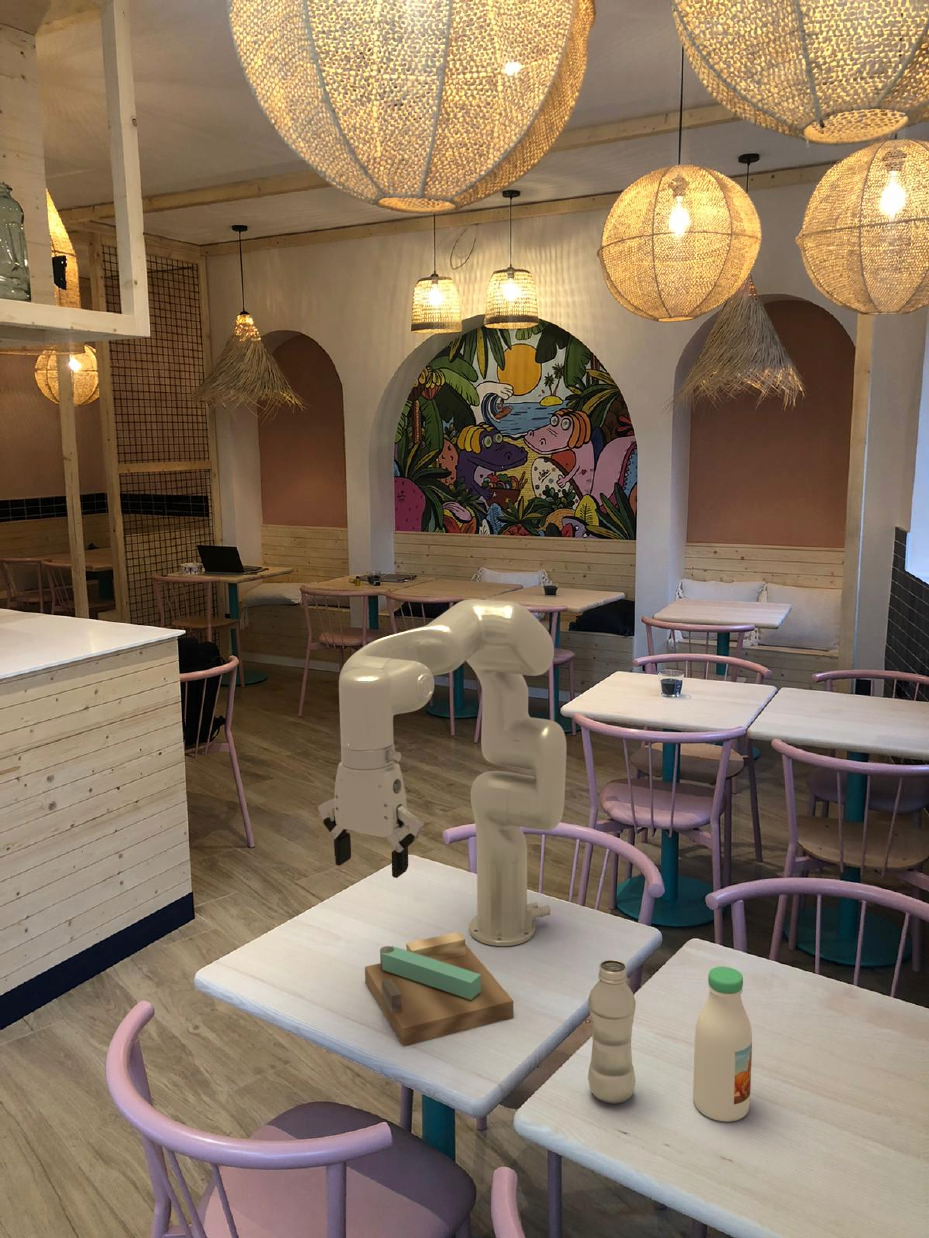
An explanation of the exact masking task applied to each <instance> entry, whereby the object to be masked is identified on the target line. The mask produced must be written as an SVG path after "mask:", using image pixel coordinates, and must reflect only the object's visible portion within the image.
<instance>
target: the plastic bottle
mask: <svg viewBox="0 0 929 1238" xmlns="http://www.w3.org/2000/svg"><path fill="white" fill-rule="evenodd" d="M597 978H598V979H599V980H598V981H597V983H596V984H595V985H594V986H593V987H592V988H591V990H590V993H589V996H588V1007H589V1009H588V1010H589V1015H590V1021H591V1034H592V1036H591V1037H592V1045H591V1046H592V1048H591V1058H590V1064H589V1068H588V1074H587V1080H588V1085H589V1090H590V1091H591V1093H592V1094H593V1095H594V1097H595V1098H596V1099H598V1100H599V1101H601V1102H604V1103H607V1104H614V1105H616V1104H621V1103H624V1102H627V1100H628V1099H630V1098H631V1097H632V1096H633V1094H634V1091H635V1087H636V1074H635V1068H634V1065H633V1054H632V1035H633V1023H634V1019H635V1012H636V1005H637V1004H636V1002H637V1001H636V999H635V995H634V993H633V991H632V990H631V988H630V986H629V985H628V984H627V981H628V976H627V965H626V963H624V962H622V961H620V960H617V959H606V960H603V961H601V962H600V964H599V972H598V976H597Z"/></svg>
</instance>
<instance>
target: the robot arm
mask: <svg viewBox="0 0 929 1238" xmlns="http://www.w3.org/2000/svg"><path fill="white" fill-rule="evenodd" d="M554 656H555V646H554V643H553V638H552V636H551V634H550V633H549V631H548V630H547V628H546V627H545V626H544V625H543V624H542V623H541V622H540V621H539V620H538V619H537V618H536V617H535V615H534V614H533V613H532V612H530V610H529V609H527V608H526V607H525V606H523V605H521V604H520V603H517V602H514V601H506V600H504V601H503V600H492V599H477V598H476V599H475V598H472V599H464V600H462V601H459V602H457V603H456V604H454V605H453V606H451V607H449V608H448V609H447V610H446V611H444V612H443V613H442V614H440V615H439V616H437V617H436V618H435V619H433V620H432V621H430V622H429V623H428V624H426V625H424V626H420V627H416V628H412V629H408V630H406V631H402V632H399V633H395V634H391V635H388V636H384V637H381V638H379V639H376V640H373V641H371V642H370V643H367V644H366V645H364V646H363V647H361V648H360V649H358V650H357V651H356V652H355V653H353V654H352V655H351V656H350V657H349V658H348V659H347V660H346V662H344V665H342V668H341V669H340V673H339V678H338V693H339V694H338V698H339V702H338V703H339V726H340V727H339V729H340V754H341V755H340V757H341V758H340V759H341V760H340V762H339V763H338V765H337V770H336V775H335V784H334V798H332V799H330V800H328V801H326V802H323V803H322V804H319V805H318V807H317V810H318V811H319V812H318V813H319V814H320V817H321V819H323V820H322V821H323V822H322V823H323V825H324V827H325V829H326V830H328V832H329V836H330V839H332V840H333V848H334V849H333V850H334V851H333V852H334V854H333V855H334V859H335V866H342V865H343V864H345V863H346V862H347V861H349V860H351V859H352V843H351V841H352V840H351V833H350V832H355V833H361V834H364V835H370V836H374V837H375V836H376V837H380V838H381V837H382V838H386V839H387V840H388V841H389V843H390V844H391V846H392V847H393V848H394V849H393V850H392V851H391V853H390V854H391V876H392V877H393V878H395V879H398V878H399V877H400V876H402V875H403V874H404V873H406V872H407V870H408V868H409V846H411V845H412V843H414V842H415V841H416V840H417V839H418V838H419V835H420V834H421V831H422V829H423V827H424V823H425V822H423V820H421V819H420V818H419V817H417V816H416V815H415V814H413V813H412V812H411V811H409V810H408V805H407V796H406V788H405V781H404V777H403V773H402V770H401V765H400V763H396V762H400V761H401V760H402V753H401V752H400V751H396V747H395V744H394V743H395V742H394V716H395V715H399V714H406V713H411V712H416V711H418V710H420V709H421V708H423V707H425V706H426V704H428V702H429V701H430V700H431V698H432V695H433V694H434V692H435V691H434V690H435V678H434V676H438V675H439V676H440V675H443V674H448V673H452V672H453V671H455V670H457V669H458V668H459V667H460V666H461V665H462V664H464V663H465V662H466V663H467V664H468V665H469V666H470V668H472V670H473V672H474V673H475V674H476V677H477V678H478V680H479V683H480V687H481V690H482V691H481V692H482V707H481V708H482V709H481V710H482V711H481V731H480V732H481V733H480V734H481V738H480V739H481V741H480V743H481V753H482V756H483V758H484V760H486V761H487V762H489V763H491V764H495V765H498V766H504V767H510V768H517V769H522V770H530V771H532V772H533V773H534V776H533V775H528V774H522V773H516V772H510V771H504V770H490V771H484V772H482V773H481V774H479V775H478V776H477V777H475V779H474V781H473V782H472V784H471V785H472V786H471V788H470V804H471V808H472V814H473V819H474V825H475V834H476V835H475V837H476V900H477V904H476V907H477V908H476V909H477V910H476V911H477V913H476V914H477V915H476V916H474V917H473V918H472V919H471V921H470V922H469V924H468V925H469V933H470V935H471V936H472V937H473V939H475V940H476V941H478V942H480V943H482V944H485V945H488V946H489V945H490V946H495V947H496V946H497V947H509V946H510V947H511V946H512V947H513V946H516V945H519V944H523V943H525V942H527V941H529V940H530V939H532V937H534V935H535V933H536V924H535V922H534V921H536V920H537V918H544V917H549V916H550V915H551V909H550V905H542V906H539V903H538V902H532V903H530V904H528V844H527V839H526V837H525V834H524V831H523V830H522V828H525V829H529V830H536V831H541V832H543V831H544V832H545V831H546V832H547V831H548V832H549V831H552V830H554V829H556V828H557V826H559V824H560V823H561V820H562V818H563V815H564V814H563V813H564V809H565V807H564V806H565V795H566V794H565V793H566V792H565V791H566V774H567V773H566V772H567V737H566V734H565V731H564V729H563V728H562V726H561V725H560V724H559V723H558V722H557V721H553V720H551V719H547V718H546V719H545V718H538V717H531V716H530V714H529V687H528V684H527V682H526V680H525V677H524V676H532V677H533V676H534V677H536V676H541V675H543V674H545V673H547V671H548V670H549V669H550V667H551V666H552V664H553V661H554ZM333 812H334V815H333ZM407 826H408V828H409V830H408V833H407V832H406V831H405V829H404V828H406V827H407ZM347 831H350V832H347Z"/></svg>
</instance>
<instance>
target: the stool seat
mask: <svg viewBox="0 0 929 1238" xmlns="http://www.w3.org/2000/svg"><path fill="white" fill-rule="evenodd" d="M405 945H406V949H405V950H406V951H410V952H413V953H416V954H419V955H422V956H425V957H428V958H431V959H434V960H437V961H441V962H444V963H447V964H450V965H453V966H456V967H459V968H462V969H465V970H469V971H472V972H475V973H478V974H481V992H480V993H478V994H477V995H476V996H475V997H474V998H473V999H472V1000H470V999H467V998H464V997H461V996H458V995H455V994H452V993H449V992H446V991H443V990H441V989H438V988H435V987H432V986H429V985H426V984H423V983H420V982H417V981H414V980H411V979H408V978H405V977H402V976H399V975H396V974H394V973H391V972H388V971H385V970H382V968H381V963H375V964H369V965H365V966H364V981H365V985H366V986H367V988H368V989H369V992H370V993H371V994H372V997H373V998H374V1000H375V1002H376V1004H377V1005H378V1006H379V1008H380V1010H381V1012H382V1013H383V1015H384V1016H385V1018H386V1020H387V1022H388V1024H389V1025H390V1027H391V1028H392V1030H393V1032H394V1033H395V1035H396V1037H397V1039H398V1040H399V1042H400V1043H401V1045H402V1047H406V1046H409V1045H412V1044H417V1043H420V1042H425V1041H429V1040H432V1039H435V1038H440V1037H444V1036H448V1035H452V1034H455V1033H459V1032H464V1031H468V1030H470V1029H471V1030H472V1029H474V1028H478V1027H483V1026H486V1025H490V1024H495V1023H498V1022H503V1021H506V1020H510V1019H514V1000H513V998H511V996H510V995H509V994H508V993H507V992H506V990H505V989H504V988H503V987H502V985H501V984H500V983H499V982H498V981H497V979H495V977H494V975H492V974H491V972H490V971H489V970H488V969H487V968H486V967H485V965H484V964H483V963H482V962H481V960H480V959H479V958H478V956H476V955H475V953H474V952H473V951H472V950H471V949H470V947H469V946H468V945H467V943H466V938H465V937H464V936H463V935H462V933H460V931H455V932H451V933H448V934H442V935H437V936H434V937H427V938H423V939H418V940H415V941H410V942H406V943H405Z"/></svg>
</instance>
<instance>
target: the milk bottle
mask: <svg viewBox="0 0 929 1238" xmlns="http://www.w3.org/2000/svg"><path fill="white" fill-rule="evenodd" d="M707 979H708V980H707V981H708V984H707V988H708V990H709V994H708V997H707V998H706V1000H705V1003H704V1005H703V1006H702V1008H701V1010H700V1011H699V1014H698V1017H697V1018H696V1019H697V1020H696V1025H695V1037H694V1051H693V1052H694V1056H693V1085H692V1090H693V1091H692V1099H693V1103H694V1105H695V1106H696V1109H697V1110H698V1111H699V1112H700V1113H701V1114H702V1115H704V1116H705V1117H707V1118H709V1119H712V1120H714V1121H717V1122H726V1123H727V1122H728V1123H729V1122H736V1121H739V1120H741V1119H743V1118H744V1117H745V1116H746V1115H747V1114H748V1112H749V1110H750V1105H751V1104H750V1102H751V1086H752V1084H751V1083H752V1080H751V1079H752V1059H753V1057H752V1055H753V1033H752V1026H751V1021H750V1018H749V1016H748V1014H747V1011H746V1010H745V1007H744V1004H743V1001H742V996H741V995H742V993H743V990H744V989H743V988H744V987H743V986H744V978H743V974H742V973H741V972H740V971H738V970H737V969H735V968H732V967H728V966H716V967H713V968H712V969H710V970H709V971H708V977H707Z"/></svg>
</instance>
